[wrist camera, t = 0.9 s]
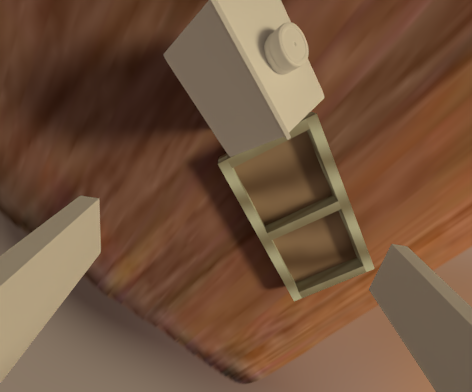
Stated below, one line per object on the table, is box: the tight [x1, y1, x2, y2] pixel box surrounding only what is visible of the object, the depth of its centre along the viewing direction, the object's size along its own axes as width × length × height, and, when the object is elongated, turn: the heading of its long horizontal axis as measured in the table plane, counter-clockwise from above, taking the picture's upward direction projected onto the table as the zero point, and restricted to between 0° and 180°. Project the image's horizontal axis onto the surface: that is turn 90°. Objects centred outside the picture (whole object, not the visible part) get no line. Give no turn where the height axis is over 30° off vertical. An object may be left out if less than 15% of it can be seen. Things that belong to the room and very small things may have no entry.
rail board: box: [218, 112, 375, 301], centre depth 34 cm, size 23×12×3 cm, turn 27°
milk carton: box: [163, 0, 324, 157], centre depth 21 cm, size 7×7×19 cm
